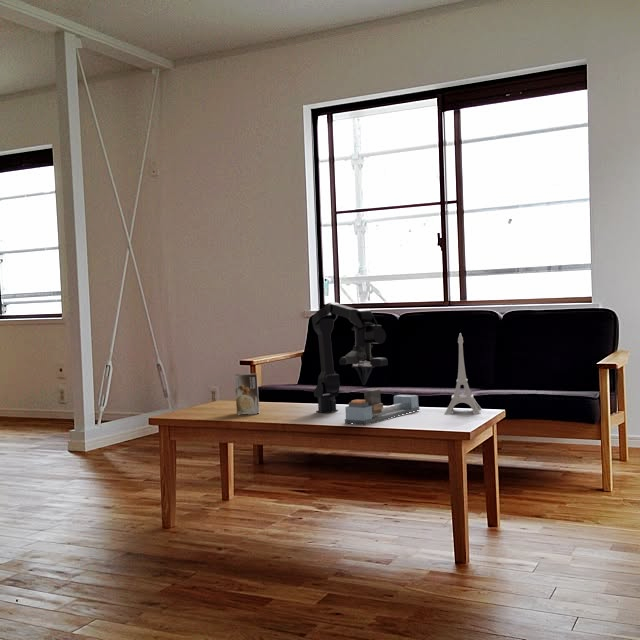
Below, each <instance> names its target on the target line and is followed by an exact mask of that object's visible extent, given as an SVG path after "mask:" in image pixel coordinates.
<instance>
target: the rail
mask: <svg viewBox="0 0 640 640" xmlns="http://www.w3.org/2000/svg"><path fill="white" fill-rule="evenodd" d="M344 409H345V419H344V424H346V423H353V424H352V425H359V424H364V425H363V426H367V425H371V424H374V422H375V423H378V422H377V421H379V422H382V421H381V420H383V421H385V420H384V419H387V420H389V419H388V418H391V417H394V416H398V415H402V414H406V413H409V412H413V411H417V410H420V411H421V409H420V406H419V396H418V395H413V394H412V395H411V394H397V395H394V396H393V404H392V405H386V406H383V409H382V413H378V414H374V415H372V406H368V402H363V403H351V401H350V402H348V405H346V406H345V408H344ZM406 415H407V414H406ZM402 416H403V415H402ZM398 417H399V416H398ZM394 418H395V417H394ZM391 419H392V418H391ZM370 423H371V424H370ZM366 424H367V425H366Z"/></svg>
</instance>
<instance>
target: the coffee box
mask: <svg viewBox="0 0 640 640" xmlns="http://www.w3.org/2000/svg"><path fill="white" fill-rule="evenodd" d="M234 386H235V388H234V389H235V404H236V405H235V406H236V415H237V414H248V415H258V414H257V413H259V414H260V399H259V385H258V373H239V374H237V373H236V374H234Z"/></svg>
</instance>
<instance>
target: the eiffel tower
mask: <svg viewBox="0 0 640 640" xmlns="http://www.w3.org/2000/svg"><path fill="white" fill-rule="evenodd" d="M457 343H458V366H457V367H458V369H457V371H458V372H457V379H456V380H455V381H456V385H455V390H454V393H453V394H452V395H451V400H450V403H449V405H447V408H446V409H445V412H443V415H452V411H454V410H455V408H454V407H455V406H456V405H458V404H460V403H461V404H462V403H464V404H466V405H468V406H469V407H470V408H471V409H472V415H481V411H482V409H483V408H482V407H481V406H480V404H478V402H477V401H476V399H475V398H474V394H472V391H471V389H470V386H469V383H468V380H469V379H468V378H467V375H466V374H467V373H466V367H465V359H464V358H465V357H464V346H463V344H464V337H463V336H462V333H461V332H460V333H459V335H458V338H457ZM462 385H463V389H464V392H465V394H460V391H461V386H462Z"/></svg>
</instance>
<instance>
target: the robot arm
mask: <svg viewBox="0 0 640 640" xmlns="http://www.w3.org/2000/svg"><path fill="white" fill-rule="evenodd" d="M338 316H340V317H342V318H343V317H344V318H346V319H348V320H349V322H350V323H351V324H353V325H354V326H353V327H351V331H354V339H355V341H354V344H355V345H353V346H352V350H350V352H348V353H346V355H345V356H341V357H340V359H339V365H340V366H346V365H347V364H348V365H350V364H352V366H351V368H353V369H354V370H355V371H356V372H357V374H358V377H359V380H360V382H361V384H362V385H366V384H367V382H368V379H369V377H370V375H371V373H372V371H373V369H374V368H376V367H378V368H379V367H385V366H389V360H388V359H387V358H386V357H374V356H373V355H372V352H371V351H372V349H373V348H374V346H373V344H377V345H378V344H384V342H385V341H387V340H386V339H387V333H386V331H385V330H384V328H383V327H382V325H381V324H378V321H377V320H376V318H375V316H374V314H373V312H372V310H371V309H370V308H355V307H351V306H348V305H344V304H341V303H339V302H327V303H326V304H325V306H323V307H322V308H320V309H319V310H317V311H316V312H315V313H314V314H313V316H312V317H311V322H312V328H313V330H314V332H315V333H316V335H317V338H318V350H319V359H320V360H319V361H320V374H319V375H318V378H317V385H316V387H315V389H314V390H313V396H314V398H317V407H318V408H317V409H318V410H315V412H316V413H325V414H326V413H327V414H331V413H333V412H338V411H339V409H337V400H336V397H337V396H339V393H340V388H341V387H340V386H341V380H340V374H338V373H336V371H335V370H334V359H333V348H332V338H331V337H332V336H331V335H332V332H333V330H334V327H335V326H334V325H335V321H336V320H337V319H338Z"/></svg>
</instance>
